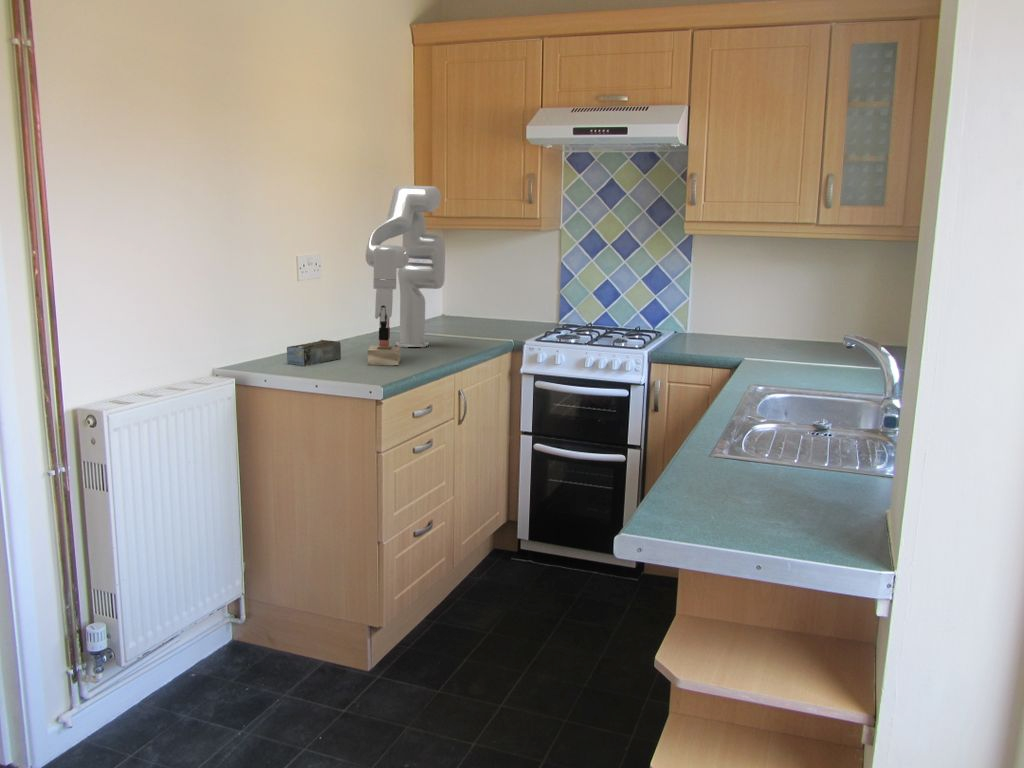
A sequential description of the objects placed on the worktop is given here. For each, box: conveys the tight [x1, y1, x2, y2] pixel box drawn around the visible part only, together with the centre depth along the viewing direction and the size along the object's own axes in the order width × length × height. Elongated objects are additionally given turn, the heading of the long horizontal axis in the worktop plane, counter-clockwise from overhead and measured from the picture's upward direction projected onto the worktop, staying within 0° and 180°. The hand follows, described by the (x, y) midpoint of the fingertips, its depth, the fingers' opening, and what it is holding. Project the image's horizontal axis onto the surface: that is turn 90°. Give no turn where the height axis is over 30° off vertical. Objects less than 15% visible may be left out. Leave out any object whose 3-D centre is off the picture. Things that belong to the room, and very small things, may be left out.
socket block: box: [367, 345, 401, 366], centre depth 290 cm, size 10×10×5 cm
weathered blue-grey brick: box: [286, 339, 342, 367], centre depth 288 cm, size 8×19×7 cm, turn 152°
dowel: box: [378, 318, 390, 347], centre depth 288 cm, size 3×3×9 cm
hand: (384, 338), depth 288 cm, fingers closed on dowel, 3 cm apart
